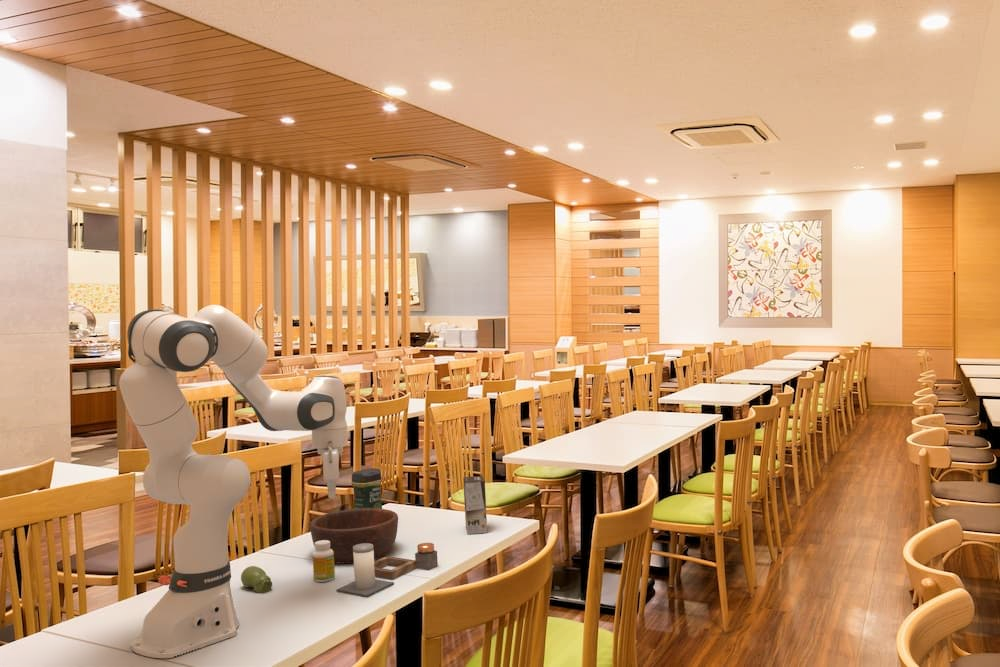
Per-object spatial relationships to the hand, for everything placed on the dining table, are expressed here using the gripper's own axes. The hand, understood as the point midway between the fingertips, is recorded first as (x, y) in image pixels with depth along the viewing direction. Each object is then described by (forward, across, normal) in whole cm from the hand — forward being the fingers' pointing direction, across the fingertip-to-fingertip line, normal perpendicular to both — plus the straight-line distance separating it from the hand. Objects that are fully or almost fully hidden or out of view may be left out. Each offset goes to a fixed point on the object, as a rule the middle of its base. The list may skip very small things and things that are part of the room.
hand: (332, 494), depth 204 cm
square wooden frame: (+23, +8, -17) cm, 30 cm away
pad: (+23, -4, -7) cm, 25 cm away
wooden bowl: (+23, +28, -6) cm, 37 cm away
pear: (+24, +6, +19) cm, 31 cm away
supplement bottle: (+24, +8, +3) cm, 25 cm away
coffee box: (+22, +39, -43) cm, 63 cm away
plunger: (+22, +8, -24) cm, 34 cm away
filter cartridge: (+23, -4, -7) cm, 24 cm away
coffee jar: (+22, +58, -11) cm, 63 cm away
